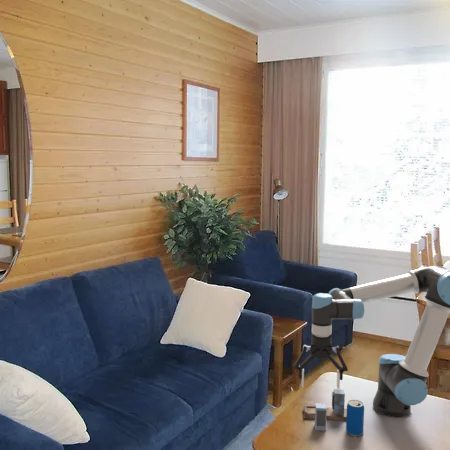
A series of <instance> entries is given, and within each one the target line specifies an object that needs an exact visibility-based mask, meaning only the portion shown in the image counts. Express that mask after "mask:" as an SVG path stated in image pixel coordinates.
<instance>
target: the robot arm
mask: <svg viewBox="0 0 450 450" xmlns="http://www.w3.org/2000/svg"><path fill="white" fill-rule="evenodd" d="M409 293H414V294H420V293H426V294H425V297H424V300H425V302H426V305H425V307H424V310H423V313H422V316H421V318H420V320H419V323H418V325H417V327H416V330H415V332H414V335H413V337H412V340H411V343H410V344H409V347H408V350H407V353H406V355H401V354H398V353H397V354H396V353H387V354H386V353H385V354H382V355H380V357H379V361H378V378H377V379H378V380H377V382H378V383H377V386H378V387H377V391H376V393H375V396H374V398H373V399H372V407H373V409H374V410H375V411H376V412H378V413H379V414H381V415H383V416H387V417H392V418H401V417H402V418H403V417H406V416H409V415H410V414H411V409H412V408H411V406H416V405H419V404H421V403H422V402H424V401H425V400H426V398H427V396H428V391H429V389H428V385H427V384H426V383H427V382H428V378H429V376H430V375H429V372H428V367H429V364H430V362H431V359H432V357H433V354H434V352H435V349H436V347H437V344H438V342H439V340H440V338H441V337H440V336H441V335H442V332H443V330H444V328H445V325H446V323H447V319H448V318H449V315H450V269H448V268H446V267H444V266H441V265H430V266H423V267H419V268H415V269H412V270H409V271H408V272H407V273H405V274H400V275H397V276H393V277H389V278H385V279H381V280H377V281H371V282H368V283H365V284H361V285H360V284H359V285H356V286H355V285H354V286H352V287H348V288H343V289H341V288H338V287H335V288H332V289H331V290H329V291H328V293H323V292H319V293H316V294H314V295H313V296H312V302H311V303H312V304H311V337H310V338H311V343H310V345H307V344H305V343H304V344H303V345H302V350H301V352H300V354H299V355H298V356H297V357H298V358H297V359H296V361H295V362H294V364H293V365H294V369H295V370H298V379H301V388H304V387H305V385H304V384H305V368H306V367H307V366H308V365H309V364H310V362H311V361H312V360H314V359H315V358H317V359H321V358H322V359H326V358H328V360H330V362H331V363H332V365H333V366H334V367H335V368H336V369H337V370H336V389H340V384H341V382H340V381H342V380H344V379H343V377H344V376H343V375H344V372H348V371H349V369H348V367H347V363H346V362H345V360H344V358H343V356H342V353H341V351H340V346H339V345H336V346H332V329H333V328H332V327H333V326H332V325H333V320H358V319H359V320H360V319H363V317H364V315H365V304H367V303H371V302H376V301H380V300H384V299H388V298H394V297H397V296H401V295H405V294H409ZM308 351H310V354H309V355H308V356H307V357H306V358H304V357H305V355H306V353H307V352H308ZM332 352H334V353H336V355H337V358H338V359H339V361H340V363H341V365H342V366H341V365H340V363H339V362H338V361H337V360H336V358H334V356H333V355H332V354H331V353H332ZM303 359H304V361H303Z"/></svg>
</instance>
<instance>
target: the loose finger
mask: <svg viewBox="0 0 450 450" xmlns="http://www.w3.org/2000/svg"><path fill="white" fill-rule="evenodd" d="M314 404H315V405H314V406H315V419H314V429H315V430H316V431H327V419H326V412H327V408H328V407H327V404H326V403H321V402H315V403H314Z"/></svg>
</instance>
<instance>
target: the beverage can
mask: <svg viewBox="0 0 450 450" xmlns="http://www.w3.org/2000/svg"><path fill="white" fill-rule="evenodd" d="M347 402H348V403H346V409H347V415H346V421H345V431H346V432H347V434H348V435H350V436H352V437H353V436H354V437H359V436H361V435H363V434H364V423H365V405H364V402H362V401H361V400H358V399H350V400H348V401H347Z"/></svg>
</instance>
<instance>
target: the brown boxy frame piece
mask: <svg viewBox="0 0 450 450" xmlns="http://www.w3.org/2000/svg"><path fill="white" fill-rule="evenodd" d="M331 392H332V394H331V407H326V408H327V412H326V420H332V421H333V420H334V421H345V422H346V415H347V408H345V401H346V399H345V397H346V393H345V390H344V389H341V388H339V389H337V388H333V391H331ZM303 419H310V420H311V419H312V420H315V405H307V403H303Z"/></svg>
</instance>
